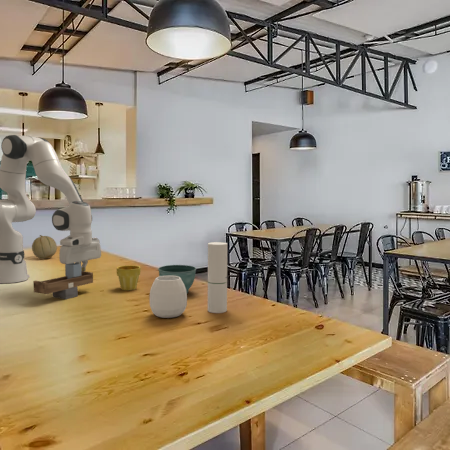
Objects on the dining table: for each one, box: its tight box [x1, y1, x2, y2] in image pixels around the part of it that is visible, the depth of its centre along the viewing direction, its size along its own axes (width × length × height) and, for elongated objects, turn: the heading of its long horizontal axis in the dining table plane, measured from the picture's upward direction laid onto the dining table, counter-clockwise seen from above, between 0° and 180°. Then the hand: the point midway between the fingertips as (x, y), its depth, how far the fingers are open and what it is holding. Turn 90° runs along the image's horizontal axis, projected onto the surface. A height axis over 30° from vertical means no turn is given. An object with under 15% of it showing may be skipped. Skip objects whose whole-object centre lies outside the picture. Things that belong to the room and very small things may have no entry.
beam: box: [32, 271, 94, 300], centre depth 174 cm, size 8×24×8 cm, turn 151°
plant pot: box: [116, 264, 141, 291], centre depth 188 cm, size 10×10×10 cm
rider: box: [64, 263, 82, 279], centre depth 177 cm, size 5×4×7 cm
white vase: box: [149, 275, 188, 319], centre depth 149 cm, size 13×13×14 cm
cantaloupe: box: [31, 234, 58, 260], centre depth 266 cm, size 15×15×15 cm
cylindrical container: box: [207, 241, 228, 314], centre depth 155 cm, size 7×7×25 cm
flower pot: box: [157, 264, 197, 294], centre depth 182 cm, size 16×16×11 cm
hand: (81, 271), depth 181 cm, fingers closed
